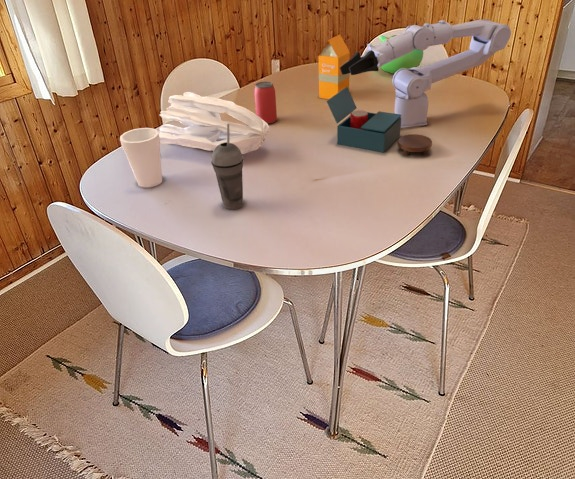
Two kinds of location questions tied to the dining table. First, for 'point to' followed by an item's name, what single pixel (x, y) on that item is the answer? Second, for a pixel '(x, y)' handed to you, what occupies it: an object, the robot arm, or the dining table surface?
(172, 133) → the white plastic bag
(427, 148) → the coaster
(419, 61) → the green round bowl
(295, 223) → the dining table surface
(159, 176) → the foam cup
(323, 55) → the orange juice
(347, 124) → the teal box
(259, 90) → the beer can
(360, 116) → the can
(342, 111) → the cool box flap
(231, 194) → the beverage cup
